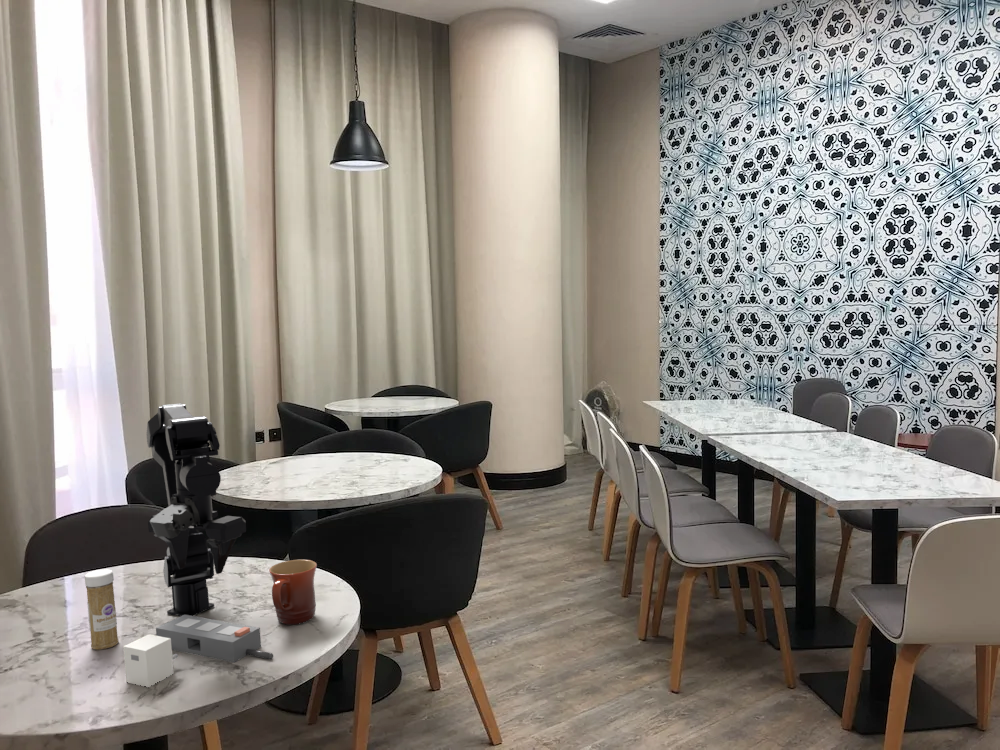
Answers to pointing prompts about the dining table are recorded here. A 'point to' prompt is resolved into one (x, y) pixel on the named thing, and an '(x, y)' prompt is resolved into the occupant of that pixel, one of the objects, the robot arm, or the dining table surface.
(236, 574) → the dining table surface
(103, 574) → the sprinkles bottle
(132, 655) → the block
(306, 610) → the mug
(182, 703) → the dining table surface
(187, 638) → the power strip
